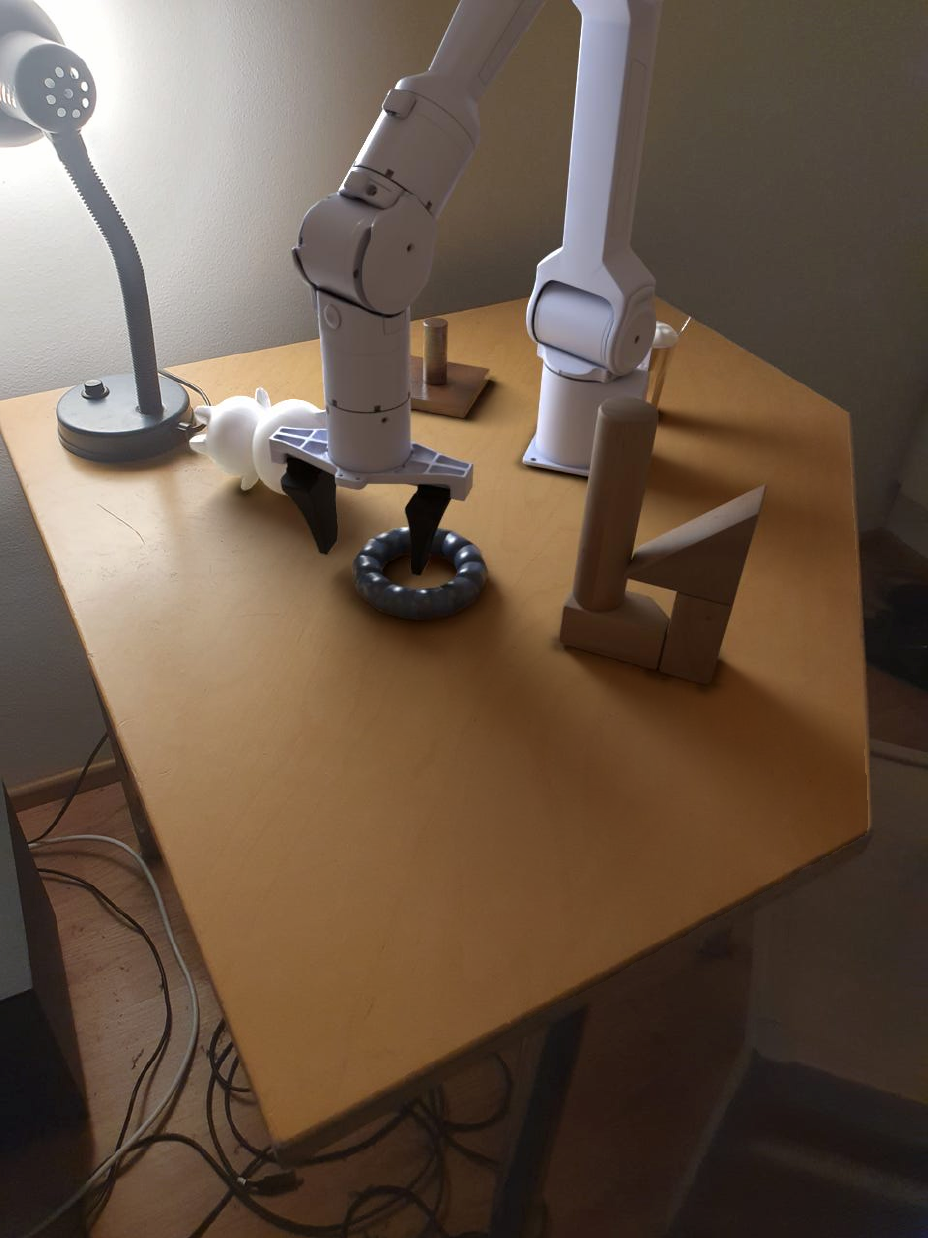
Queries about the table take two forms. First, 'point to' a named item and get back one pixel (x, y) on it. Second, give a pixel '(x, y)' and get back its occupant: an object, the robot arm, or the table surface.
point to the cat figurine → (251, 435)
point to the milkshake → (660, 360)
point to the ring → (419, 600)
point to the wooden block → (651, 559)
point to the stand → (443, 376)
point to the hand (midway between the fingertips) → (373, 557)
